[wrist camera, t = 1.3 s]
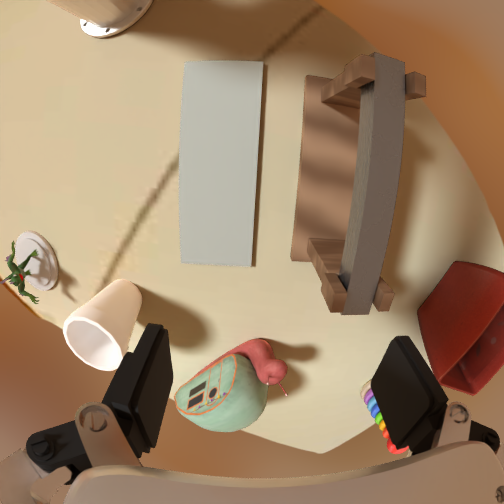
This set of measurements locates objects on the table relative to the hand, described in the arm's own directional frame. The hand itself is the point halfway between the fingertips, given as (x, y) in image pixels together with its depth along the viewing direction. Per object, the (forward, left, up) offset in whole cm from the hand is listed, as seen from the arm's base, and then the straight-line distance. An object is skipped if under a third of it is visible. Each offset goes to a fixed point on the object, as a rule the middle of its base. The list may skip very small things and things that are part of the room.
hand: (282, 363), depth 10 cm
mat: (-5, -6, -28) cm, 29 cm away
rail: (-5, +9, -16) cm, 19 cm away
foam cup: (+16, -21, -28) cm, 38 cm away
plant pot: (+15, +39, -28) cm, 50 cm away
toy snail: (+29, -4, -28) cm, 41 cm away
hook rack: (-5, +9, -28) cm, 30 cm away
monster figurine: (+11, -41, -28) cm, 51 cm away
